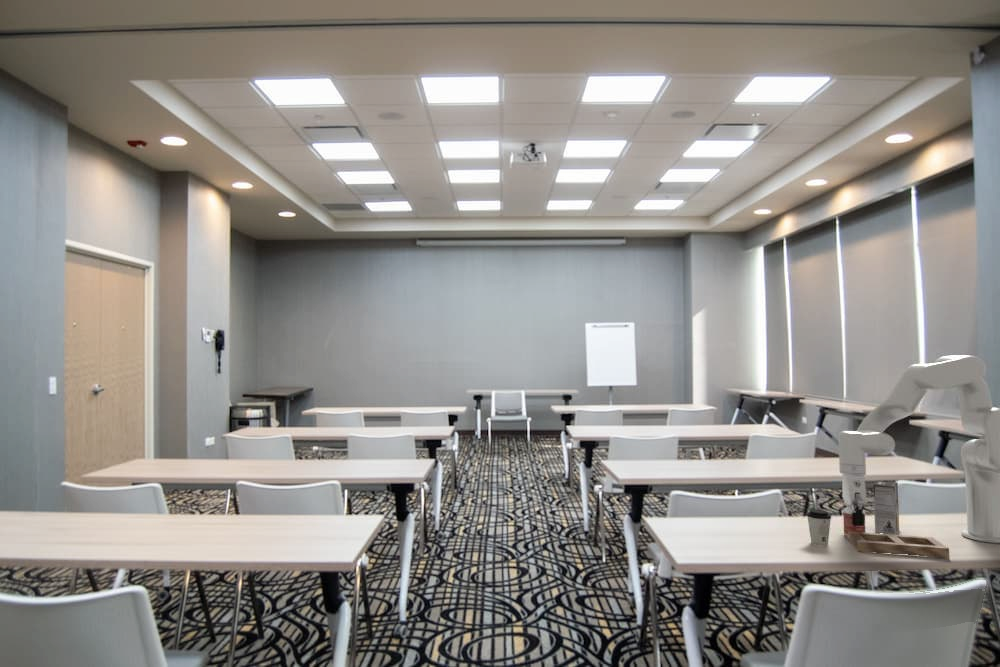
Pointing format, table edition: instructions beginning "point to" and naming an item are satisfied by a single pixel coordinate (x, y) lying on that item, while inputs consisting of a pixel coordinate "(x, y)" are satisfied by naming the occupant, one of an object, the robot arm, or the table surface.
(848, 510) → the pill bottle
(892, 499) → the coffee box
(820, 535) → the coffee cup
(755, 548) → the table surface
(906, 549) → the holder frame
